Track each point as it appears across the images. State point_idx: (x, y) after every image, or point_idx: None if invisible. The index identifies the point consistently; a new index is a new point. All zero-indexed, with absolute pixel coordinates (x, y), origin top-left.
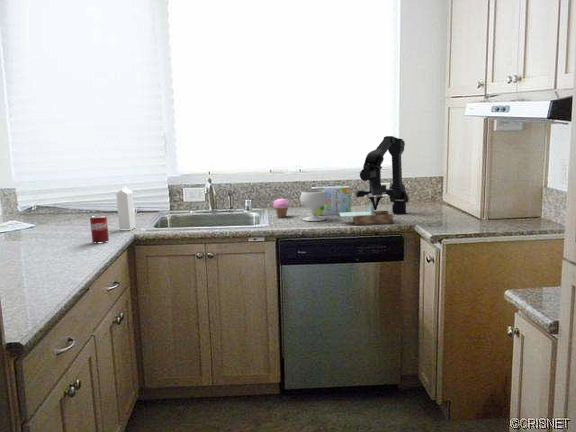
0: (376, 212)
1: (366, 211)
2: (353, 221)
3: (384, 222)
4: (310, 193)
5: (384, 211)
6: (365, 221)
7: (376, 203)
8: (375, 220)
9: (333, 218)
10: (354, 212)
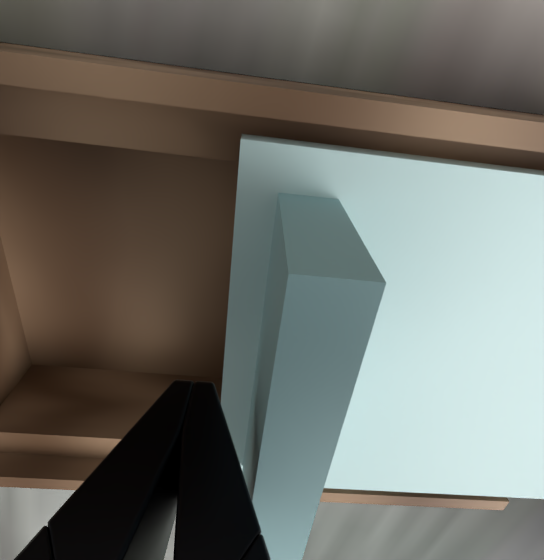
0: None
1: None
2: None
3: (88, 54)
4: None
5: (20, 469)
6: (459, 105)
7: (107, 547)
8: (263, 80)
9: (536, 530)
10: (515, 471)
